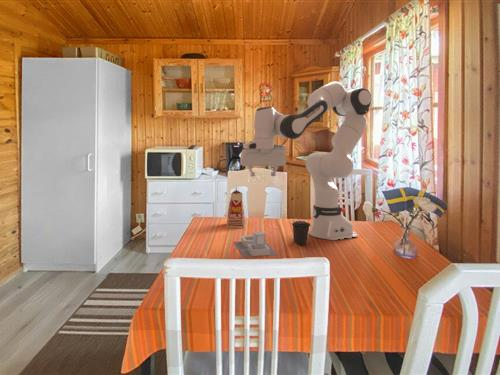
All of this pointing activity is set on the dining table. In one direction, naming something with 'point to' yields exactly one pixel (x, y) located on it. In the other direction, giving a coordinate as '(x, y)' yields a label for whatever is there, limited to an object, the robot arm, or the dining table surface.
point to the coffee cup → (300, 232)
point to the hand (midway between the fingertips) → (263, 176)
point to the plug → (258, 240)
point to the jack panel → (248, 251)
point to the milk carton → (236, 211)
